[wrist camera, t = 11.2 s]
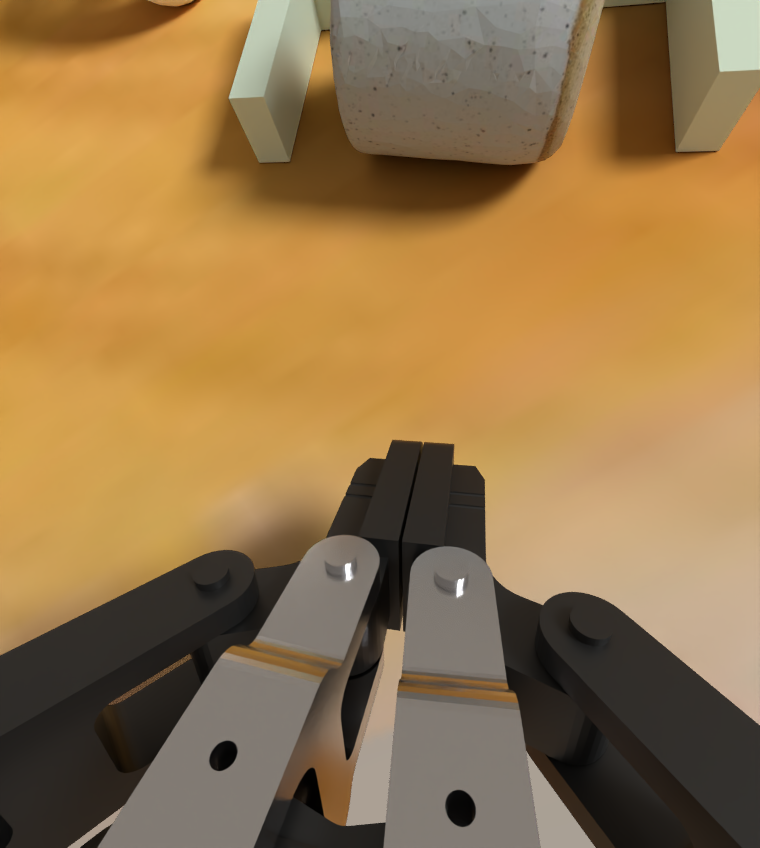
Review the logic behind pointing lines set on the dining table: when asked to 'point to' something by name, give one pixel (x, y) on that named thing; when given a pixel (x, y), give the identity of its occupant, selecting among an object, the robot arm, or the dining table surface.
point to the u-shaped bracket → (685, 5)
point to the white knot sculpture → (171, 2)
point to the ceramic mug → (460, 75)
